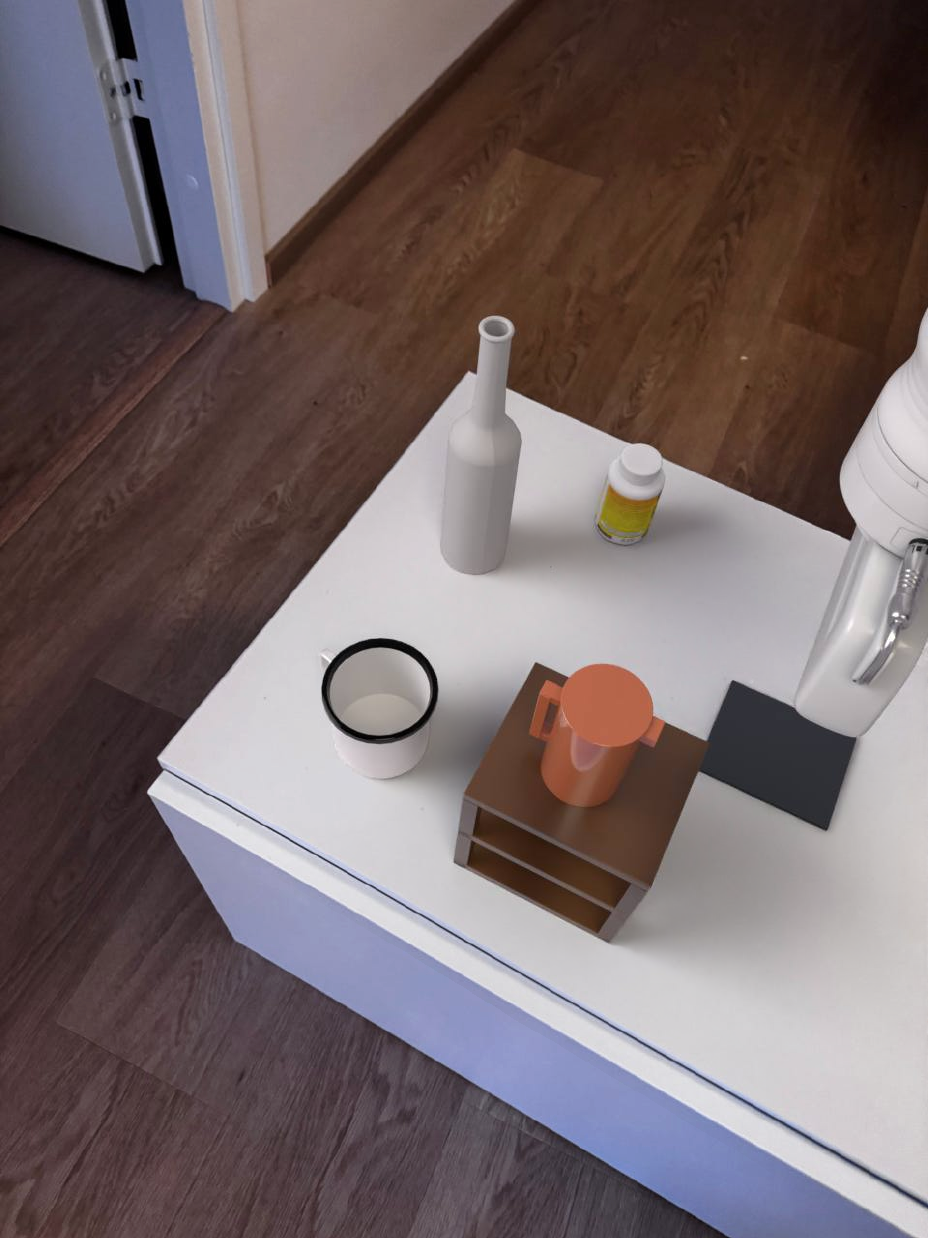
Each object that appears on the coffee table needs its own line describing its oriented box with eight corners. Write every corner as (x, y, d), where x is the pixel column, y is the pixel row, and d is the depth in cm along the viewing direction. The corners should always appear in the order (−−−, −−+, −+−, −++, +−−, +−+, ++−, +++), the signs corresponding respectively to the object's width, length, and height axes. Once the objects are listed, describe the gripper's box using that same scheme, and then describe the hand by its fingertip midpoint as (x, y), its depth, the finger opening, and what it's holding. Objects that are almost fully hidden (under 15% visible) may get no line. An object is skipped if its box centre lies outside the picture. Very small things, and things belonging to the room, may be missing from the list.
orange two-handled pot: (644, 758, 69) (678, 693, 61) (613, 827, 66) (645, 768, 58) (544, 710, 71) (564, 640, 62) (510, 775, 68) (526, 711, 60)
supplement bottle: (651, 547, 98) (675, 481, 90) (597, 547, 98) (616, 481, 89) (644, 504, 101) (667, 436, 93) (591, 503, 101) (609, 435, 92)
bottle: (433, 526, 98) (444, 302, 74) (496, 516, 99) (527, 293, 76) (448, 579, 95) (465, 362, 71) (513, 568, 96) (551, 351, 72)
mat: (855, 738, 88) (857, 735, 88) (826, 831, 83) (828, 829, 83) (730, 682, 90) (732, 679, 90) (695, 769, 86) (696, 767, 85)
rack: (662, 816, 83) (710, 742, 70) (609, 944, 77) (651, 887, 64) (515, 745, 86) (535, 661, 73) (452, 862, 80) (463, 793, 67)
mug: (457, 735, 86) (463, 687, 78) (380, 808, 82) (378, 764, 74) (363, 652, 90) (360, 598, 82) (285, 717, 86) (274, 667, 78)
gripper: (972, 675, 39) (844, 804, 51) (1049, 366, 49) (928, 533, 61) (821, 612, 41) (730, 752, 52) (926, 324, 51) (830, 495, 62)
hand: (837, 632), depth 57 cm, fingers open, 8 cm apart
